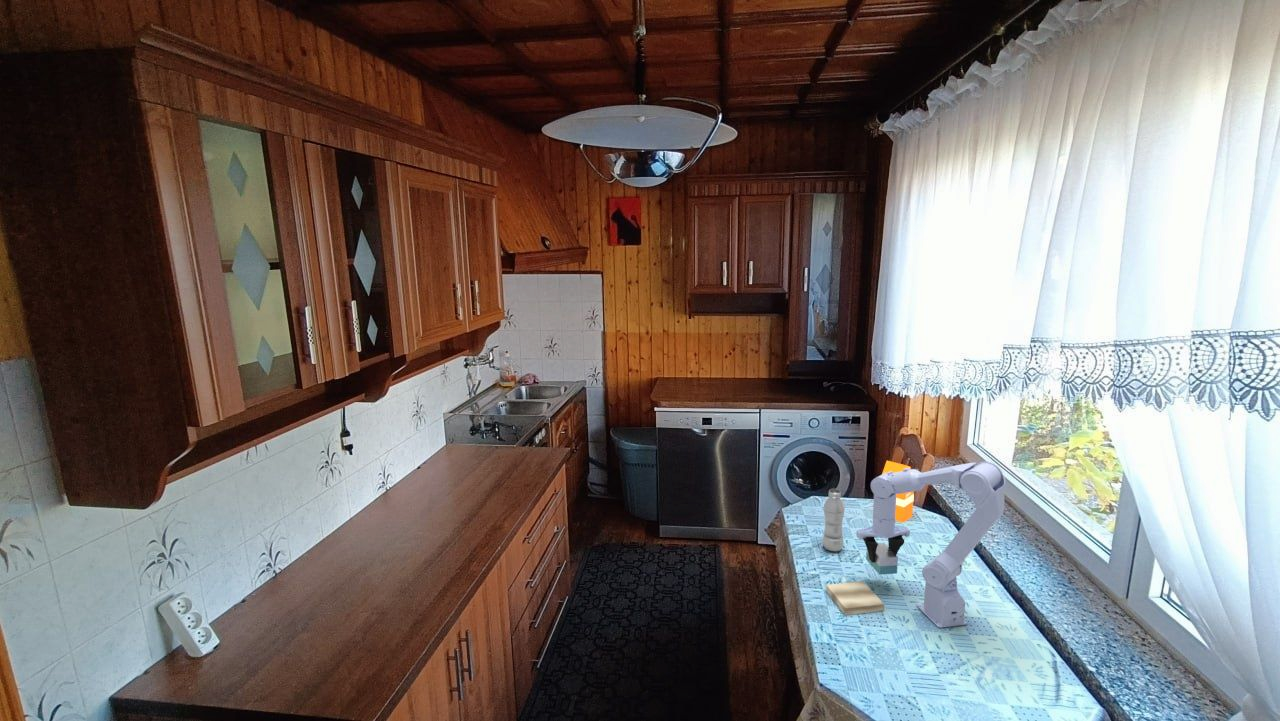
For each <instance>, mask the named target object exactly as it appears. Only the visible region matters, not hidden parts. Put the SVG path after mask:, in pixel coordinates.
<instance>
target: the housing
mask: <svg viewBox="0 0 1280 721" xmlns="http://www.w3.org/2000/svg"><path fill="white" fill-rule="evenodd" d="M877 543H878V546H877V549H876V559H875V563H872V562H871V560H870V559H869V554H868V550H867V549H866V556H865V560H866V561H867V562H868V563H869V564H870V566H871V567H873V569H874V570H875V572H877V574H878V575H894V574H898V561H899V556H897V555H895V554H894V553H893V552H892V551H891V550H890V549H889V548H888V547H889V546H888V545H887V544H886V543H885V542H877Z"/></svg>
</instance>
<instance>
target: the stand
mask: <svg viewBox="0 0 1280 721" xmlns="http://www.w3.org/2000/svg"><path fill="white" fill-rule="evenodd" d="M825 589H826V590H825V592H826V593H827V594H828V595H829V597H830V598H831V599H832V601H833V602H834V603H835V605H836V606H837V608H839V610H840V611H841V612H842V614H844V616H849V615H858V614H859V615H861V614H865V613H866V614H867V613H869V614H870V613H878V612H884V611H885V603H884V602H883V601H882V600H881V599H880V598H879V597H878V595H876V594H875V592H874V591H872V589H871V588H870V587H869V586H868V584H867V583H865V582H864V581H863V580H860V581H858V580H857V581H850V582H840V583H832V584H831V583H830V584H826V585H825Z"/></svg>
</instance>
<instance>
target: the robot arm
mask: <svg viewBox="0 0 1280 721" xmlns="http://www.w3.org/2000/svg"><path fill="white" fill-rule="evenodd" d="M949 483H950V484H951V483H952V484H953V485H954V486H955V487H956V488H957V489H961V488H962V489H963V492H965V493H966V495H967V497H968V498H969V499H970V500H971V501H972V503H973V504H974V505H975V507H976V509H975V510H974V511H973V513H972V514H971V515H970V517H969V518H968V519H967V520H966V521H965V523H964V525H962V527H961V528H960V529H959V531H958V532H957V533H956V534H955V535H954V537H953V538H952V539H951V541H950V542H949V543H948V545H947V546H946V547H945V548H944V550H943V551H942V552H941V553H940V554H938V555H937V557H935V558H934V559H933V560H931V562H929V563H928V564H925V566H923V568H922V571H921V572H922V578H923V580H924V581H925V584H924V586H925V587H924V602H922V603H917V604H916V607H917V608H918V609H919V610H920V611H921V612H922V613H923V614H924V615H925V616H926V617H927V618H928V619H929V620H930V621H931V622H932V623H933V624H934V625H935V626H936V627H937V628H947V627H948V628H949V627H957V626H965V625H967V623H968V622H967V621H965V610H966V601H965V599H964V598H963V596H962V595H961V593H960V592H959V590H958V581H957V577H958V576H960V575H961V574H962V571H963V564H964V563H965V562H966V559H967V558H968V556H969V555H970V553H971V552H972V551H973V550H974V549H975V548H976V546H977V545H978V544H979V543H980V542H981V540H982V539H983V538H984V537H985V535H987V533H988V532H989V530H990V529H991V528H992V527H993V526H994V525H995V523H996V522H997V521H998V520H999V518H1000V517H1001V516H1002V515H1003V513H1004V511H1005V487H1006V484H1007V480H1006V477H1005V475H1004V474H1003V471H1002V470H1001V468H1000V467H999V466H998V465H997V464H996V463H993V462H992V461H991V462H990V461H982V462H979V463H977V462H968V463H963V464H956V465H952V466H947V467H942V468H937V469H932V470H928V471H925V472H924V471H923V472H921V471H919V470H918V469H915V468H911V470H910V468H905V469H903V471H901V472H895V473H893V472H892V471H891V472H888V473H884V474H880V475H879V476H876V477H875V478H873V479H872V480H871V482H870V490H871V492H872V493H873V506H872V507H873V508H872V509H873V510H872V526H869V527H865V528H862V529H856V535H855V536H856V537H857V539H858V540H863V542H864V544H865V547H866V551H867V550H868V554H869V559H870V560H871V562H872V563H875V559H876V549H877V546H878V543H879V542H877V541H876V539H875V538H884V539H887V541H888V542H887V543H888V546H887V547H888V548H889V549H890V550H891V551H892V552H893V553H894V554H895V555H896V556H897V554H898V552H899V550H900V548H902V546H903V545H905V539H904V538H903V536H904V537H906V538H907V537H910V536H911V529H909V528H908V527H906V526H896V520H895V512H896V494H902V493H909V492H914V493H915V492H921V491H922V490H924V487H925V486H931V485H938V484H940V485H941V484H949Z"/></svg>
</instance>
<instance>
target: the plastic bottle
mask: <svg viewBox="0 0 1280 721" xmlns="http://www.w3.org/2000/svg"><path fill="white" fill-rule="evenodd" d="M841 494H842V493H841V490H840V489H837V488H830V489H829V490H828V498H827V499H826V500H825V501H824V504H823V511H824V532H823V535H822V546H823V547H824V549H825V550H827V551H829V552H833V553H836V552H839V551H841V550H842V549H843V547H844V537H843V519H844V515H845V514H844V513H845V508H846V507H845V504H844V502H843V500H842V499H841V498H842V495H841Z"/></svg>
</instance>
